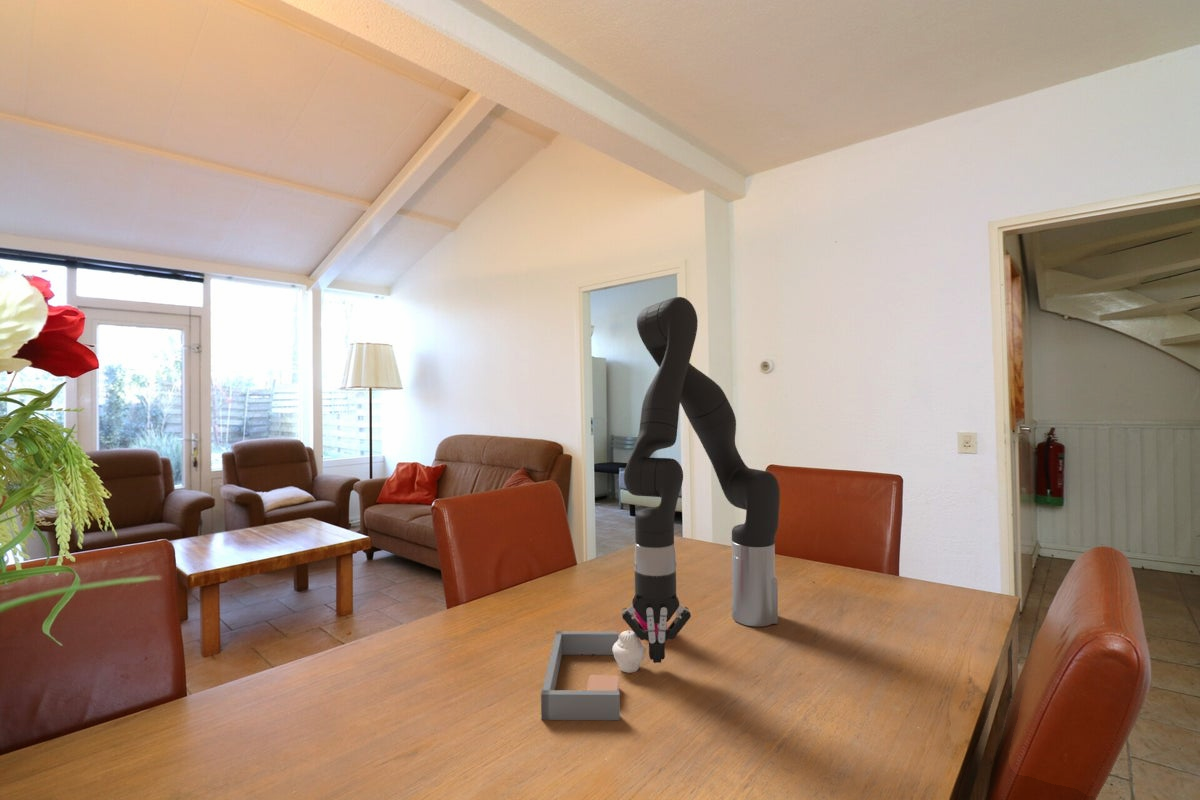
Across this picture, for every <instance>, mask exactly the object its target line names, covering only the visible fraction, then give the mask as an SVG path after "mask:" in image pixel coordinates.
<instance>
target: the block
mask: <svg viewBox="0 0 1200 800" xmlns="http://www.w3.org/2000/svg"><path fill="white" fill-rule="evenodd" d="M586 690H600V691H619V692H620V675H611V674H610V675H608V674H590V675H589V678H588V682H587V686H586Z"/></svg>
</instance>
